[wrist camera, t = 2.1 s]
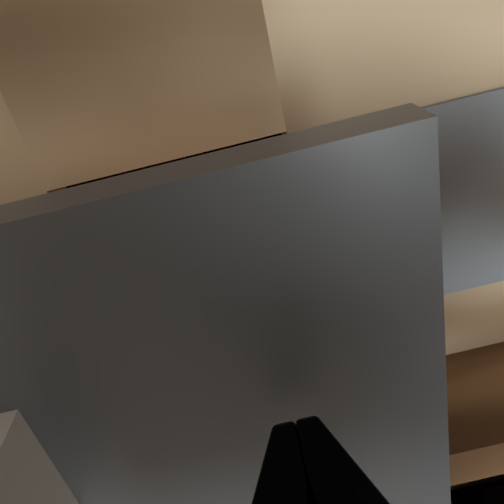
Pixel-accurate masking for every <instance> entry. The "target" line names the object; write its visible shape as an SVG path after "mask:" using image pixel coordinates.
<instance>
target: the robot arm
mask: <svg viewBox="0 0 504 504" xmlns="http://www.w3.org/2000/svg"><path fill="white" fill-rule="evenodd" d="M252 504H390V503H389V502H388V501H387V499H386V498H385V497H384V496H383V495H382V493H381V492H380V491H379V490H378V489H377V487H376V486H375V485H374V484H373V482H372V481H371V480H370V479H369V478H368V476H367V475H366V474H365V473H364V472H363V470H362V469H361V468H360V467H359V466H358V464H357V463H356V462H355V461H354V459H353V458H352V457H351V456H350V455H349V453H348V452H347V451H346V450H345V449H344V447H343V446H342V445H341V444H340V443H339V441H338V440H337V439H336V438H335V436H334V435H333V434H332V433H331V432H330V430H329V429H328V428H327V427H326V426H325V424H324V423H323V422H322V421H321V419H320V418H319V417H317V416H310V417H305V418H301V419H298V420H297V421H296V424H295V423H294V422H293V421H288V422H284V423H280V424H276V425H274V426H273V427H272V429H271V433H270V437H269V440H268V444H267V448H266V452H265V455H264V459H263V463H262V466H261V470H260V474H259V478H258V481H257V485H256V489H255V492H254V496H253V500H252ZM451 504H504V481H500V482H496V483H491V484H487V485H482V486H478V487H474V488H469V489H465V490H461V491H456V492H452V493H451Z"/></svg>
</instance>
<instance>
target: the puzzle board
mask: <svg viewBox="0 0 504 504" xmlns="http://www.w3.org/2000/svg"><path fill="white" fill-rule="evenodd" d="M408 103H413V104H415V105H417V106H419V107H421V108H423V109H425V110H427V111H429V112H431V113H433V114H435V115H437V116H438V145H439V174H440V202H441V231H442V260H443V288H444V317H445V346H446V375H447V403H448V432H449V461H450V486H453V485H457V484H462V483H466V482H471V481H475V480H479V479H484V478H488V477H492V476H497V475H501V474H504V0H0V205H2V204H6V203H10V202H14V201H18V200H22V199H26V198H30V197H34V196H38V195H42V194H46V193H50V192H54V191H58V190H62V189H66V186H70V185H74V184H78V183H82V182H86V181H90V180H94V179H98V178H102V177H106V176H110V175H114V174H118V173H122V172H126V171H130V170H134V169H138V168H142V167H146V166H150V165H154V164H158V163H162V162H166V161H170V160H174V159H178V158H182V157H186V156H190V155H194V154H198V153H202V152H206V151H210V150H214V149H218V148H222V147H226V146H230V145H234V144H238V143H242V142H246V141H250V140H254V139H259V138H263V137H267V136H271V135H275V134H279V133H282V135H283V134H287V133H291V132H295V131H299V130H303V129H307V128H311V127H315V126H319V125H323V124H327V123H331V122H335V121H339V120H343V119H347V118H351V117H355V116H360V115H364V114H368V113H372V112H376V111H380V110H384V109H388V108H392V107H396V106H400V105H404V104H408Z"/></svg>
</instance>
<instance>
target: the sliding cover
mask: <svg viewBox="0 0 504 504" xmlns="http://www.w3.org/2000/svg"><path fill="white" fill-rule="evenodd" d="M310 416H317V417H319V418H320V419H321V421H322V422H323V423H324V424H325V426H326V427H327V428H328V429H329V430H330V432H331V433H332V434H333V435H334V436H335V438H336V439H337V440H338V441H339V443H340V444H341V445H342V446H343V447H344V449H345V450H346V451H347V452H348V453H349V455H350V456H351V457H352V458H353V459H354V461H355V462H356V463H357V464H358V466H359V467H360V468H361V469H362V470H363V472H364V473H365V474H366V475H367V476H368V478H369V479H370V480H371V481H372V482H373V484H374V485H375V486H376V487H377V489H378V490H379V491H380V492H381V493H382V495H383V496H384V497H385V498H386V499H387V501H388V502H389V503H390V504H451V489H450V461H449V432H448V403H447V375H446V346H445V317H444V288H443V260H442V231H441V202H440V174H439V145H438V116H437V115H435V114H433V113H431V112H429V111H427V110H425V109H423V108H421V107H419V106H417V105H415V104H413V103H408V104H404V105H400V106H396V107H392V108H388V109H384V110H380V111H376V112H372V113H368V114H364V115H360V116H355V117H351V118H347V119H343V120H339V121H335V122H331V123H327V124H323V125H319V126H315V127H311V128H307V129H303V130H299V131H295V132H291V133H287V134H283V135H279V136H275V137H271V138H267V139H263V140H259V141H255V142H251V143H247V144H243V145H239V146H235V147H231V148H227V149H223V150H219V151H215V152H211V153H207V154H203V155H199V156H195V157H191V158H187V159H183V160H179V161H175V162H171V163H167V164H163V165H159V166H155V167H151V168H147V169H142V170H138V171H134V172H130V173H126V174H122V175H118V176H114V177H110V178H106V179H102V180H98V181H94V182H90V183H86V184H82V185H78V186H74V187H70V188H66V189H62V190H58V191H54V192H50V193H46V194H42V195H38V196H34V197H30V198H26V199H22V200H18V201H14V202H10V203H6V204H2V205H0V504H252V500H253V496H254V492H255V489H256V485H257V481H258V478H259V474H260V470H261V466H262V463H263V459H264V455H265V452H266V448H267V444H268V440H269V437H270V433H271V429H272V427H273V426H274V425H276V424H280V423H284V422H288V421H293V422H294V423H295V424H296V421H297V420H298V419H301V418H305V417H310Z"/></svg>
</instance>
